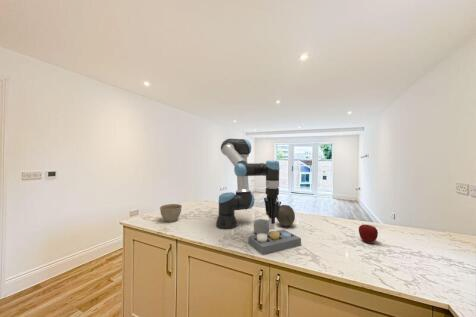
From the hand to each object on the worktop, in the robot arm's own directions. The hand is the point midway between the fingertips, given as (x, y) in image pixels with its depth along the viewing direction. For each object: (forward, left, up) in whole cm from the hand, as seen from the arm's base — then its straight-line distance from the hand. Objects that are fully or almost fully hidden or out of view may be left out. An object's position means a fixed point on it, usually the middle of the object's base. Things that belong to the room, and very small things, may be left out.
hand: (271, 228), depth 111 cm
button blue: (0, +10, -8) cm, 13 cm away
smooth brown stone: (-22, +28, -9) cm, 36 cm away
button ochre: (0, +2, -7) cm, 7 cm away
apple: (+21, +55, -9) cm, 60 cm away
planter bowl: (-69, -46, -9) cm, 83 cm away
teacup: (-18, +5, -9) cm, 21 cm away
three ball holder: (0, +2, -9) cm, 9 cm away
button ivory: (0, -7, -7) cm, 9 cm away
